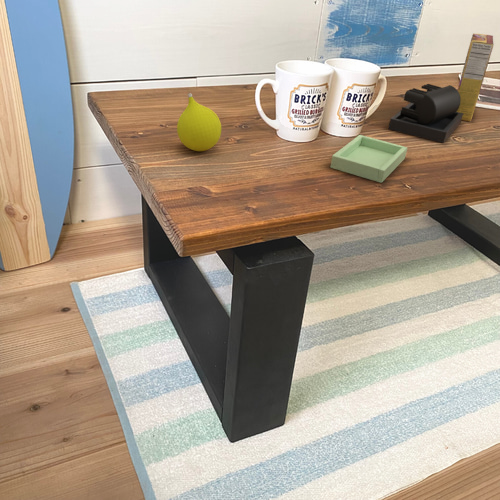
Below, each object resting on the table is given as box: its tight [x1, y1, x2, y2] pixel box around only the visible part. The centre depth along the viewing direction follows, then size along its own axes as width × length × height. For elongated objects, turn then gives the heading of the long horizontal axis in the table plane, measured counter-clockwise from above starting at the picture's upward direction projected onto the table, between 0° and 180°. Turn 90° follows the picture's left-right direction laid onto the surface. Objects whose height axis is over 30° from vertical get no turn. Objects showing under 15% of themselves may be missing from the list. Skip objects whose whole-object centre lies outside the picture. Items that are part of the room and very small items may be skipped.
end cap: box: [400, 83, 461, 126], centre depth 98 cm, size 10×7×7 cm
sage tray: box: [329, 134, 408, 184], centre depth 83 cm, size 9×12×2 cm
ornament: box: [176, 92, 222, 152], centre depth 81 cm, size 7×7×10 cm
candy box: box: [456, 33, 495, 122], centre depth 104 cm, size 9×4×15 cm, turn 158°
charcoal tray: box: [387, 102, 463, 144], centre depth 100 cm, size 11×14×2 cm
